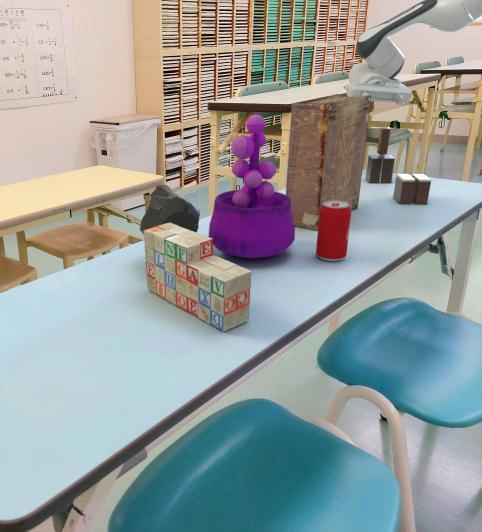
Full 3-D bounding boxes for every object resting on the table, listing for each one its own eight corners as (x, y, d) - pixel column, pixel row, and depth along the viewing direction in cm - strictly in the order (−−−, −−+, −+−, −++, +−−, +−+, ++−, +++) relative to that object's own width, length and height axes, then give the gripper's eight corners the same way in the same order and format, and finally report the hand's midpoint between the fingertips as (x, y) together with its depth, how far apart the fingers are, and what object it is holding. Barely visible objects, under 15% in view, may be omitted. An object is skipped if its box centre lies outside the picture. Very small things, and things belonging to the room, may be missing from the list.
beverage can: (348, 254, 113) (355, 201, 108) (342, 264, 108) (349, 209, 103) (318, 250, 116) (324, 198, 111) (312, 260, 111) (317, 205, 106)
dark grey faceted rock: (213, 259, 114) (214, 178, 107) (188, 286, 101) (187, 197, 94) (154, 251, 120) (151, 174, 113) (123, 276, 107) (118, 191, 100)
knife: (375, 182, 169) (383, 129, 162) (372, 179, 173) (379, 127, 167) (383, 182, 168) (391, 129, 162) (380, 179, 173) (387, 127, 166)
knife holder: (369, 183, 169) (372, 158, 166) (365, 178, 174) (368, 155, 171) (391, 183, 167) (395, 158, 164) (386, 179, 173) (390, 154, 170)
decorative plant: (258, 275, 105) (267, 122, 93) (191, 253, 118) (190, 116, 106) (309, 250, 116) (322, 111, 105) (242, 233, 129) (247, 107, 117)
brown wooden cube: (393, 197, 152) (396, 173, 150) (419, 197, 151) (423, 173, 148) (399, 204, 146) (403, 179, 143) (427, 204, 145) (431, 179, 142)
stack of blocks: (250, 320, 87) (253, 253, 82) (223, 333, 84) (224, 264, 79) (171, 279, 104) (169, 221, 99) (146, 288, 100) (142, 228, 95)
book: (326, 202, 151) (337, 93, 139) (358, 207, 145) (372, 94, 133) (283, 224, 134) (291, 103, 122) (317, 231, 128) (329, 104, 116)
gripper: (344, 75, 176) (357, 88, 165) (404, 80, 176) (420, 93, 165) (339, 94, 180) (351, 108, 169) (397, 98, 180) (413, 112, 169)
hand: (386, 101), depth 167 cm, fingers open, 8 cm apart
